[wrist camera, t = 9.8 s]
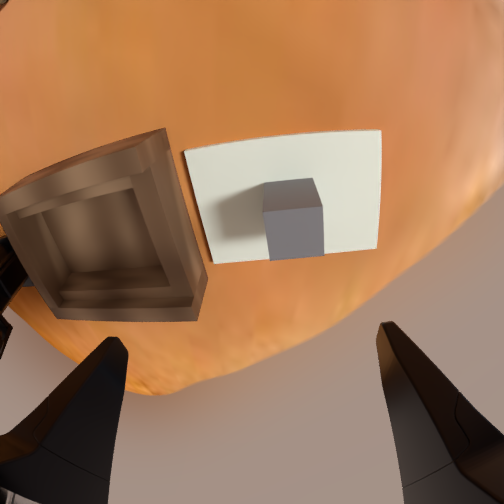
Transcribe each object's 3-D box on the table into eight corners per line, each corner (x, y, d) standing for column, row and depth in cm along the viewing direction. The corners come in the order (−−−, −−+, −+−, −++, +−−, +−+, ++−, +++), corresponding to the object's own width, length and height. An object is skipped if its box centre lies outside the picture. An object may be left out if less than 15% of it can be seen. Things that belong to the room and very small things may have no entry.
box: (77, 286, 25) (57, 318, 21) (25, 176, 18) (-9, 201, 14) (208, 278, 23) (197, 321, 19) (165, 127, 16) (135, 146, 12)
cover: (216, 255, 22) (204, 302, 18) (188, 147, 17) (162, 173, 13) (372, 241, 21) (393, 284, 17) (375, 127, 16) (408, 148, 12)
